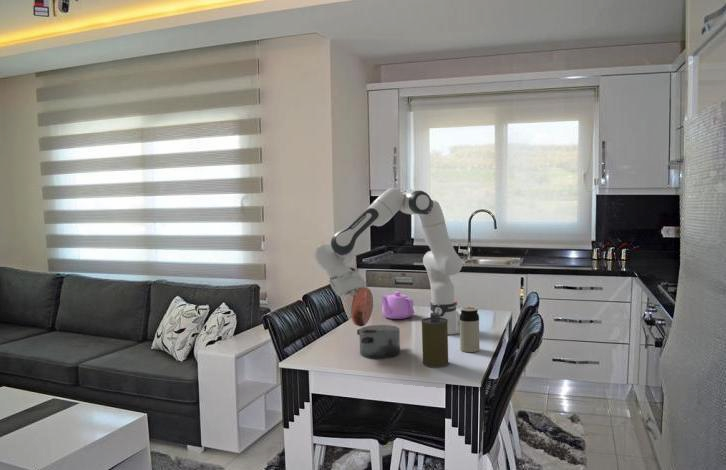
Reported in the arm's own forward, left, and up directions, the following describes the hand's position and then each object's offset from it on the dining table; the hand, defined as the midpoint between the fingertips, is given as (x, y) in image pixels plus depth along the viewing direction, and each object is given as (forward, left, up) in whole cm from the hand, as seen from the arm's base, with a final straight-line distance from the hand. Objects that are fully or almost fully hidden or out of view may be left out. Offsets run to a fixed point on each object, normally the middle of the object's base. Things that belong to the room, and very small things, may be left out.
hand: (360, 299), depth 238 cm
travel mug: (-19, +42, -23) cm, 51 cm away
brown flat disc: (0, +2, -3) cm, 4 cm away
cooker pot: (0, +9, -22) cm, 24 cm away
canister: (+4, +36, -23) cm, 43 cm away
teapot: (-62, -15, -23) cm, 68 cm away
